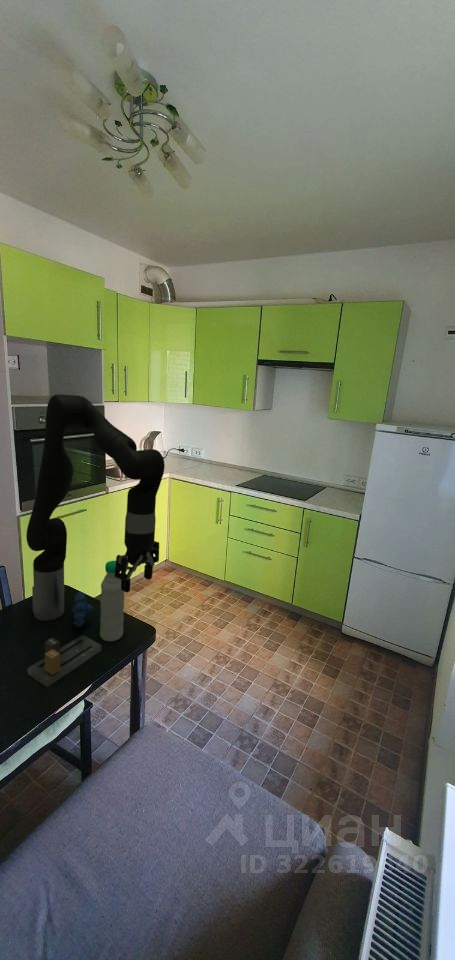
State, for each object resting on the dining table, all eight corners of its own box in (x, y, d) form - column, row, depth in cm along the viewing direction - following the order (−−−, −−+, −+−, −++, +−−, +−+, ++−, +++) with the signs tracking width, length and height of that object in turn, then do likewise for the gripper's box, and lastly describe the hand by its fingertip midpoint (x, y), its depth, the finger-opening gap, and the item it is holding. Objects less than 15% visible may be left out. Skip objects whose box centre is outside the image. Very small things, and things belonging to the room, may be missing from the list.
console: (27, 674, 104) (27, 667, 103) (82, 640, 119) (82, 634, 119) (47, 687, 100) (46, 680, 100) (101, 650, 116) (101, 644, 115)
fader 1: (45, 657, 107) (44, 641, 106) (52, 653, 109) (52, 637, 108) (52, 662, 106) (51, 645, 105) (59, 657, 108) (59, 641, 107)
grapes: (93, 635, 122) (93, 601, 119) (70, 637, 120) (70, 603, 117) (93, 614, 133) (94, 582, 130) (72, 616, 131) (72, 584, 128)
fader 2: (45, 670, 103) (44, 653, 102) (52, 665, 105) (52, 648, 104) (52, 675, 101) (52, 658, 100) (60, 669, 103) (60, 653, 102)
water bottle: (116, 644, 119) (118, 569, 113) (95, 639, 120) (96, 565, 115) (126, 631, 126) (129, 560, 120) (106, 627, 127) (108, 556, 121)
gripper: (147, 517, 107) (144, 570, 110) (108, 530, 94) (106, 590, 98) (169, 523, 103) (165, 579, 107) (131, 539, 91) (128, 601, 95)
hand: (137, 584), depth 103 cm, fingers open, 8 cm apart
